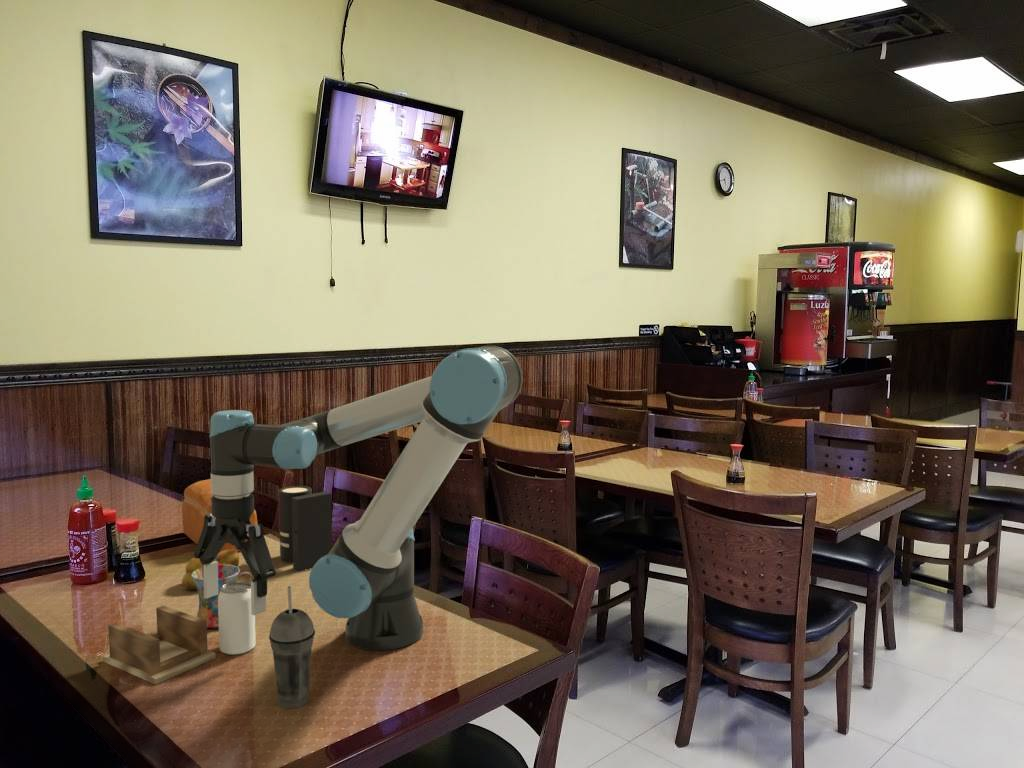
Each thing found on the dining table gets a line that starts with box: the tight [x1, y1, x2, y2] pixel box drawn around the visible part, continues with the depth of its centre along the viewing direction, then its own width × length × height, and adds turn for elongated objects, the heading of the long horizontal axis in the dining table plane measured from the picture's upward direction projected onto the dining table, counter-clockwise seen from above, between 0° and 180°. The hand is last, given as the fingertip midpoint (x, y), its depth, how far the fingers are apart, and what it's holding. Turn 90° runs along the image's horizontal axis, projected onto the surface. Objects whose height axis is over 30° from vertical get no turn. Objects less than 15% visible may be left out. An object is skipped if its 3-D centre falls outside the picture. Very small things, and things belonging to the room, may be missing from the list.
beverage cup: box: [268, 585, 316, 709], centre depth 129 cm, size 7×7×20 cm
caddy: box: [102, 605, 216, 685], centre depth 144 cm, size 16×12×7 cm
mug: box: [191, 564, 253, 629], centre depth 162 cm, size 12×9×11 cm
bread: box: [181, 478, 259, 553], centre depth 214 cm, size 14×26×16 cm, turn 37°
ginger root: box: [181, 549, 240, 591], centre depth 183 cm, size 13×10×8 cm
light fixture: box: [278, 485, 333, 572], centre depth 199 cm, size 10×14×18 cm
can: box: [218, 581, 256, 656], centre depth 149 cm, size 6×6×12 cm
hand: (234, 604), depth 149 cm, fingers open, 13 cm apart
